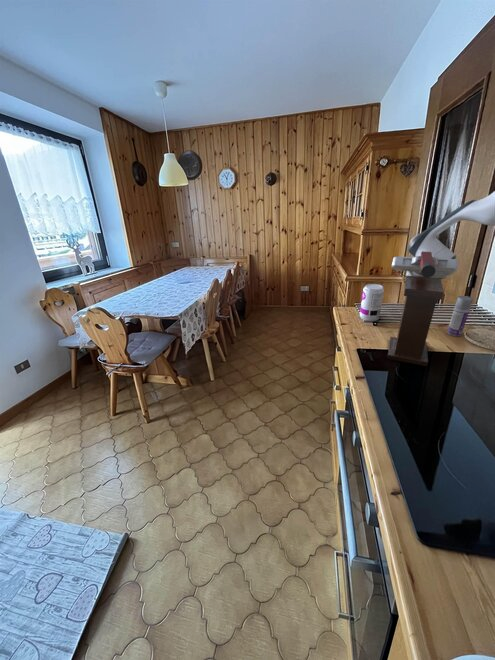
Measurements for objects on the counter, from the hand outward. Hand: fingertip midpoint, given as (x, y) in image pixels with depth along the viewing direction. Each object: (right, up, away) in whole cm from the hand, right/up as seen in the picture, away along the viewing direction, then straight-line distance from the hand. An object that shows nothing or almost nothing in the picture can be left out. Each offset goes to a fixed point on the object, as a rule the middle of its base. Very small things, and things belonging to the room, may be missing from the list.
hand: (426, 258), depth 95 cm
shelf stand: (-3, -32, +6) cm, 33 cm away
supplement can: (-5, -19, +32) cm, 38 cm away
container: (+21, -26, +16) cm, 37 cm away
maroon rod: (-2, -4, -3) cm, 5 cm away
